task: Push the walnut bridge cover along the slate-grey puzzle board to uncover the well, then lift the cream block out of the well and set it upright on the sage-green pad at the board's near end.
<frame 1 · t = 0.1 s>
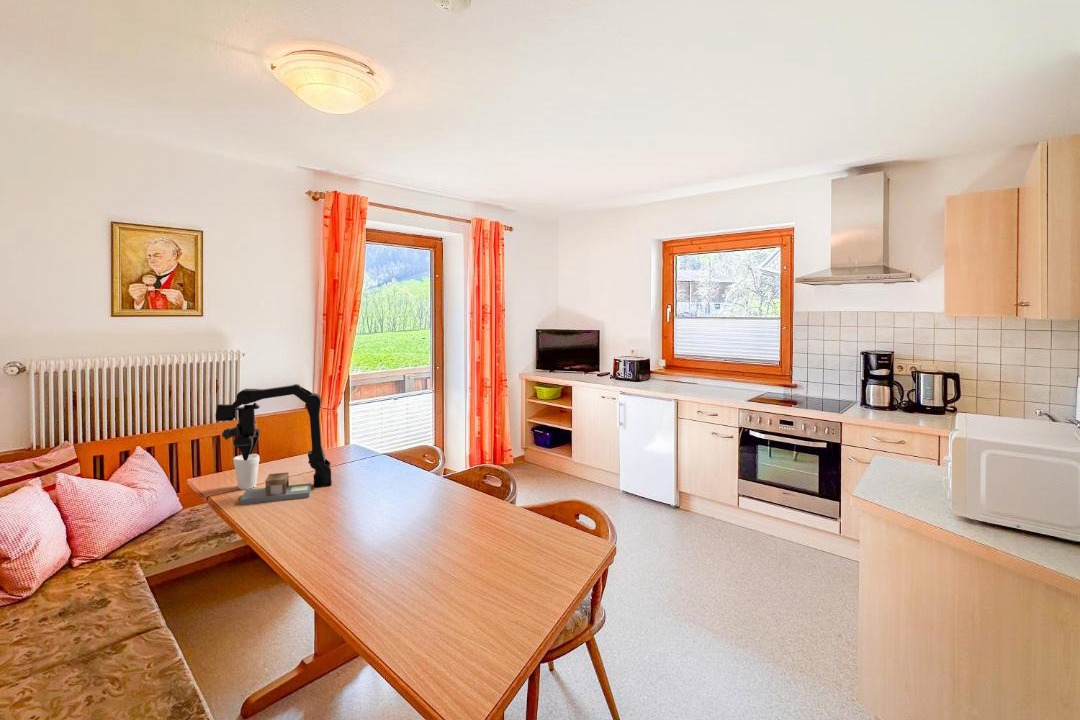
hand: (248, 457, 200), 15 cm above the table, fingers open, 9 cm apart
slide cover: (277, 483, 197), point 5 cm above the table, slide at 0.0 cm
block: (277, 496, 197), resting in board
board: (277, 495, 197), on the table
foam cup: (247, 487, 207), on the table
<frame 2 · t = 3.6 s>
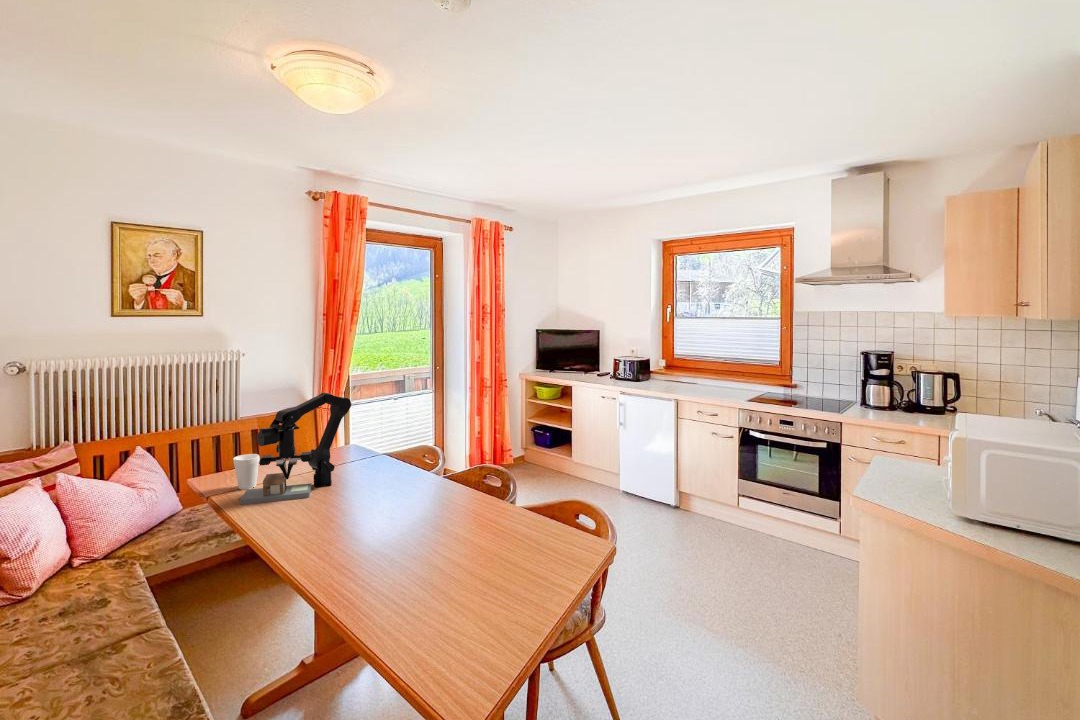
hand: (287, 479, 198), 7 cm above the table, fingers closed
slide cover: (274, 483, 196), point 5 cm above the table, slide at 0.9 cm, touching gripper
everything else where it was.
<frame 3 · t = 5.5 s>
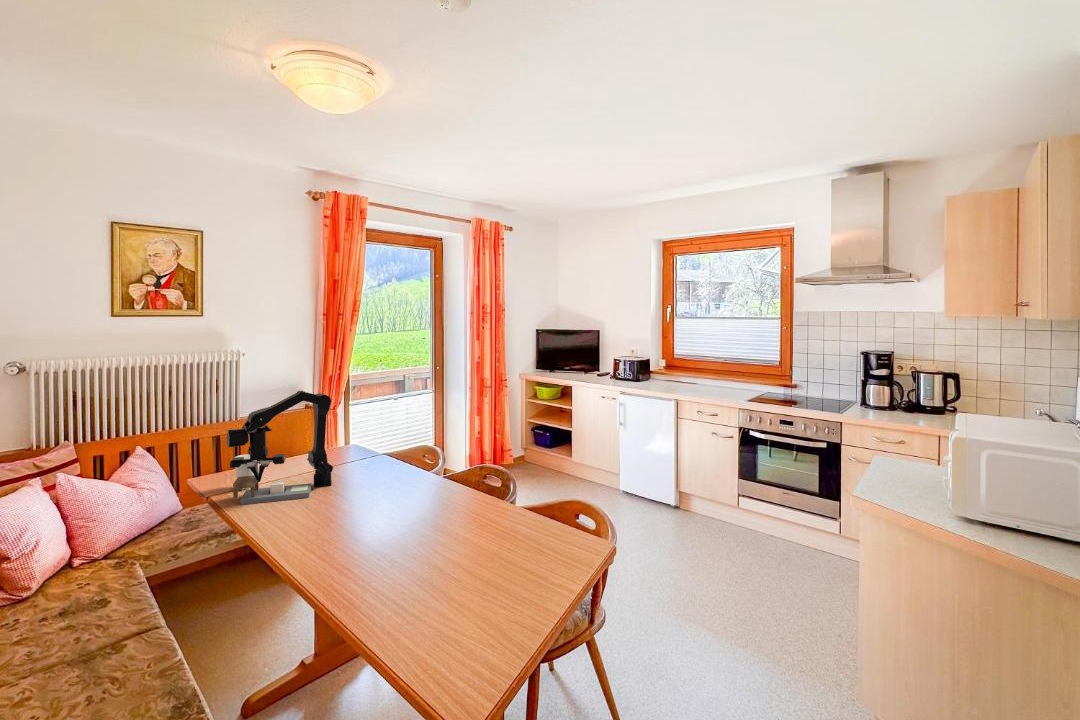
hand: (259, 481, 194), 7 cm above the table, fingers closed
slide cover: (246, 486, 193), point 5 cm above the table, slide at 11.0 cm, touching gripper
everything else where it was.
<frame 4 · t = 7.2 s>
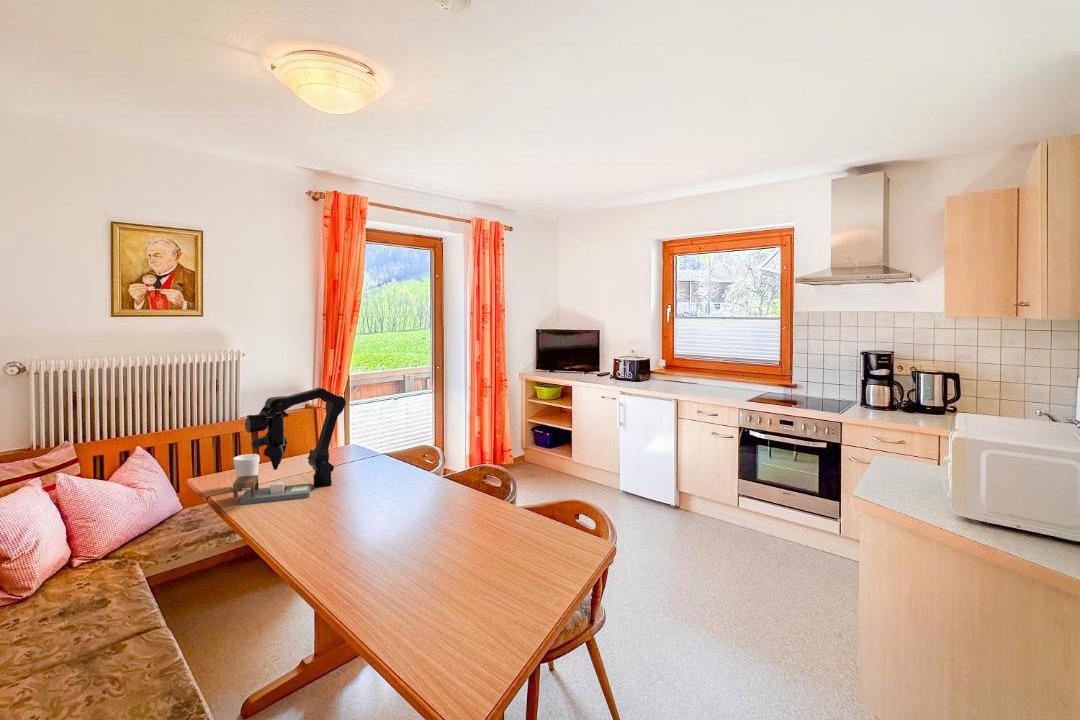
hand: (276, 466, 196), 12 cm above the table, fingers open, 7 cm apart
slide cover: (246, 486, 193), point 5 cm above the table, slide at 11.0 cm
everything else where it was.
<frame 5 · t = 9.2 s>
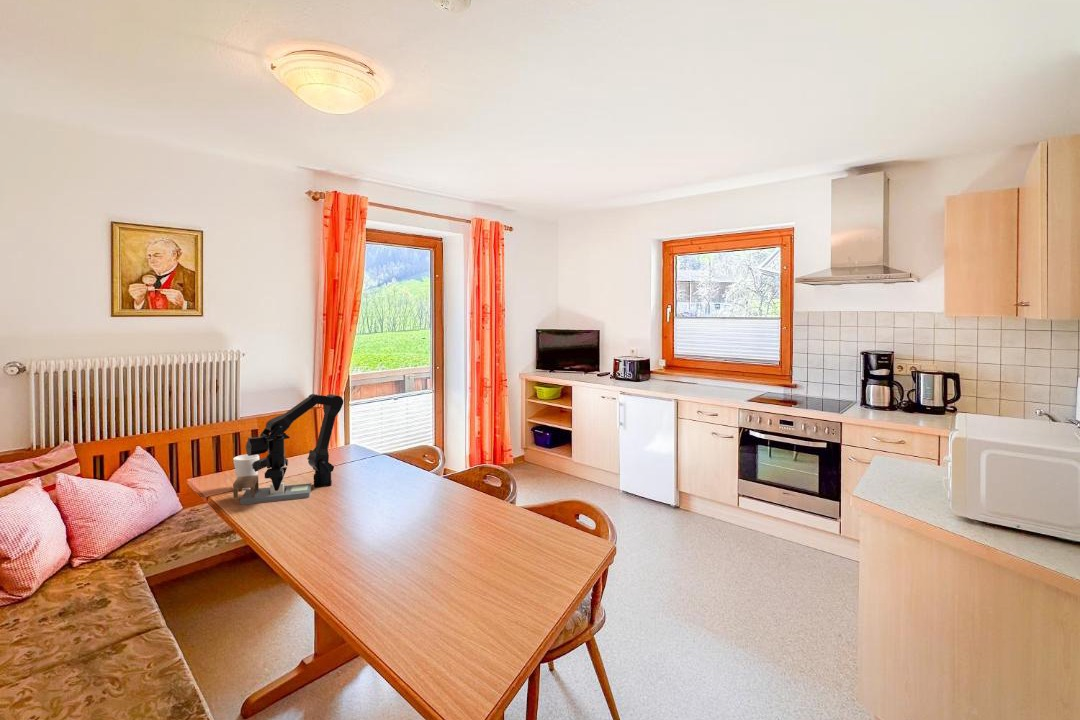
hand: (277, 488, 197), 3 cm above the table, fingers closed on block, 4 cm apart
block: (277, 495, 197), resting in board, touching gripper
everything else where it was.
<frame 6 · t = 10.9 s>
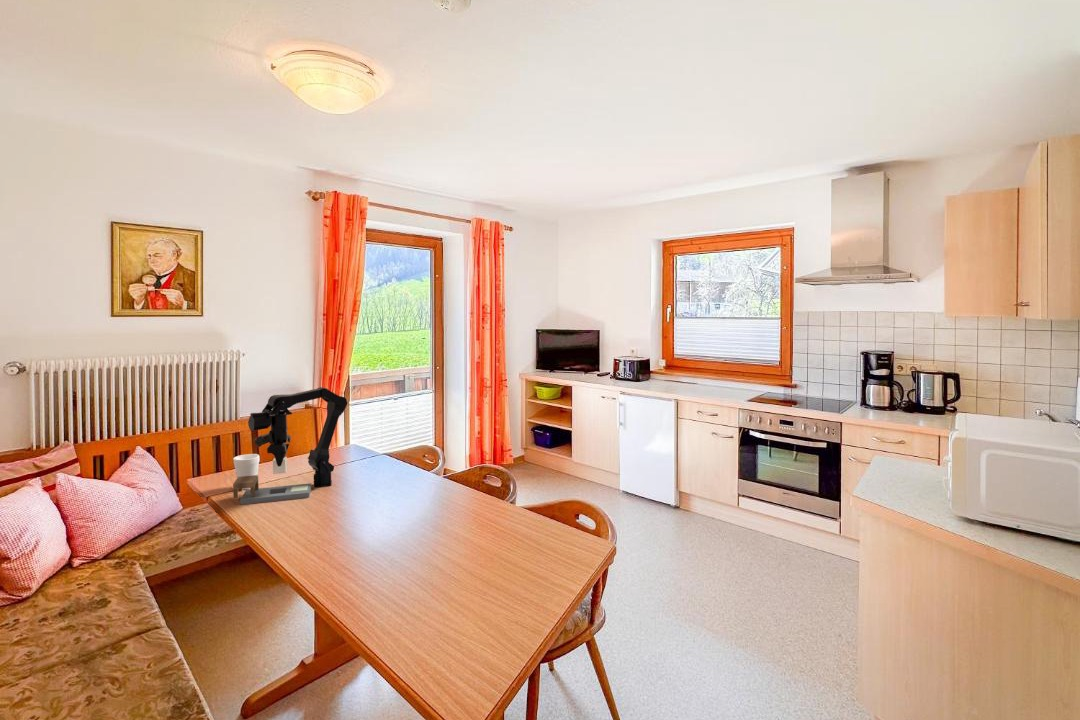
hand: (280, 464, 197), 13 cm above the table, fingers closed on block, 4 cm apart
block: (280, 471, 197), point 10 cm above the table, touching gripper
everything else where it was.
when the fingers open (6 cm above the table, at t = 13.0 s): block stays where it is, resting on board.
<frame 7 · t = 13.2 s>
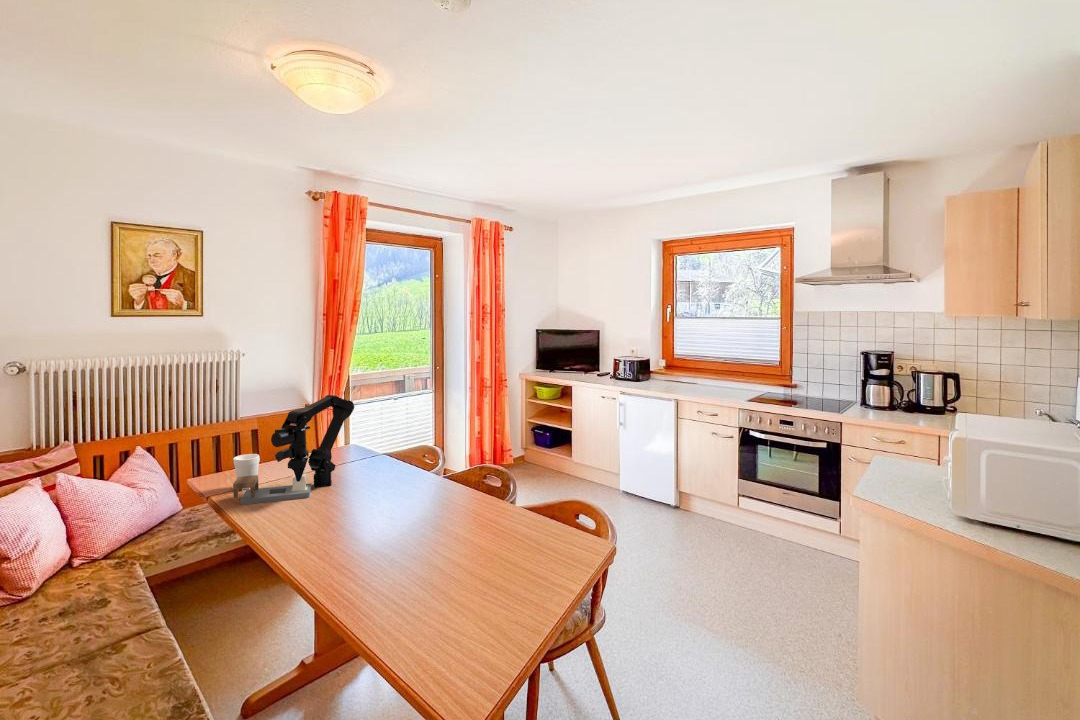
hand: (299, 478, 199), 6 cm above the table, fingers open, 6 cm apart
block: (299, 488, 200), point 2 cm above the table, touching board
everything else where it was.
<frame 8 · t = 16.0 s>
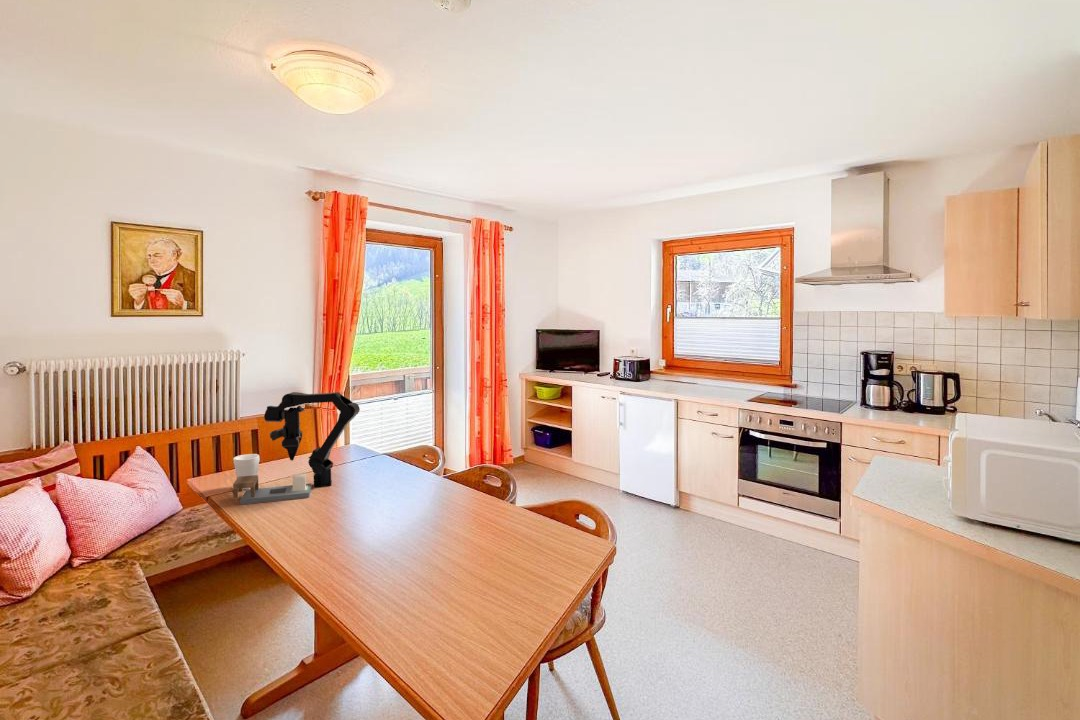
hand: (293, 457, 210), 12 cm above the table, fingers open, 9 cm apart
nothing on the table moved.
at the end: slide cover slide at 11.0 cm; block 0.0 cm from the target spot on the board, point 2.2 cm above the board's base; block tilted 0° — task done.
